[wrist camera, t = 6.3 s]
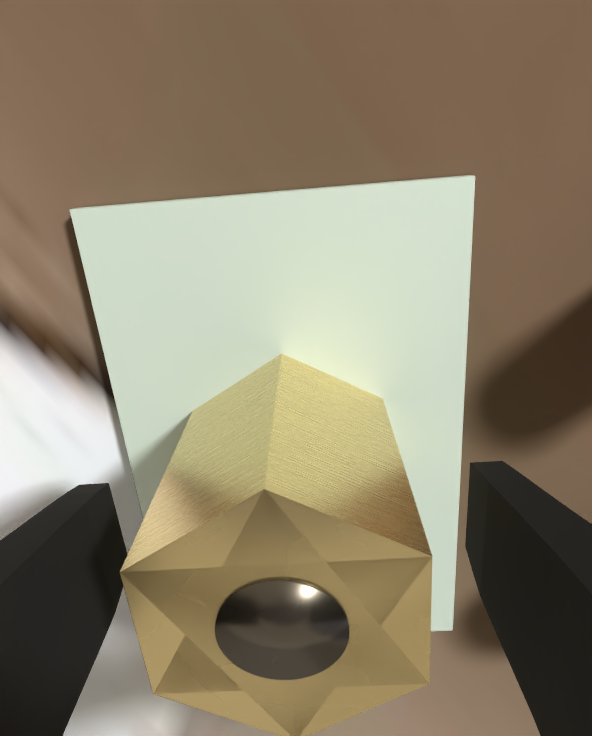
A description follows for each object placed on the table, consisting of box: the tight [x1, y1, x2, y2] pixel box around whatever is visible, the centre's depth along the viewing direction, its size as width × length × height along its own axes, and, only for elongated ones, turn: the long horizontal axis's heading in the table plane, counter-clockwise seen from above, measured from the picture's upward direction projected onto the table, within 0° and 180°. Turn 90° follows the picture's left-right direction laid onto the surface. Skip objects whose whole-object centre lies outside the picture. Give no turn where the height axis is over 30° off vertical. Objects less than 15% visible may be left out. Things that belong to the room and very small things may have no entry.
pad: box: [70, 175, 475, 631], centre depth 12 cm, size 12×8×1 cm, turn 5°
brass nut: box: [120, 353, 432, 736], centre depth 10 cm, size 5×4×5 cm
